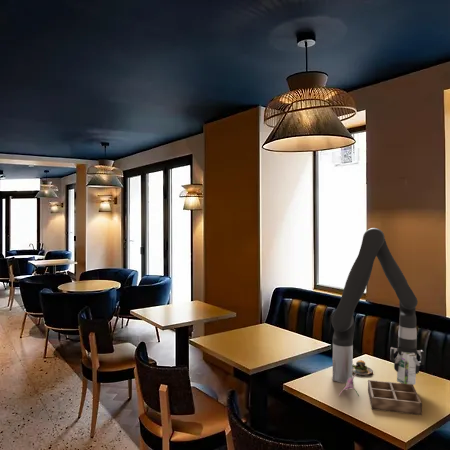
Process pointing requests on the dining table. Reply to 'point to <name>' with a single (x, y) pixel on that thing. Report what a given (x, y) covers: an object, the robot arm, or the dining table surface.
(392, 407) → the caddy
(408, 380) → the syrup box
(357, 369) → the burger
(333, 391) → the dining table surface
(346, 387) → the lily
